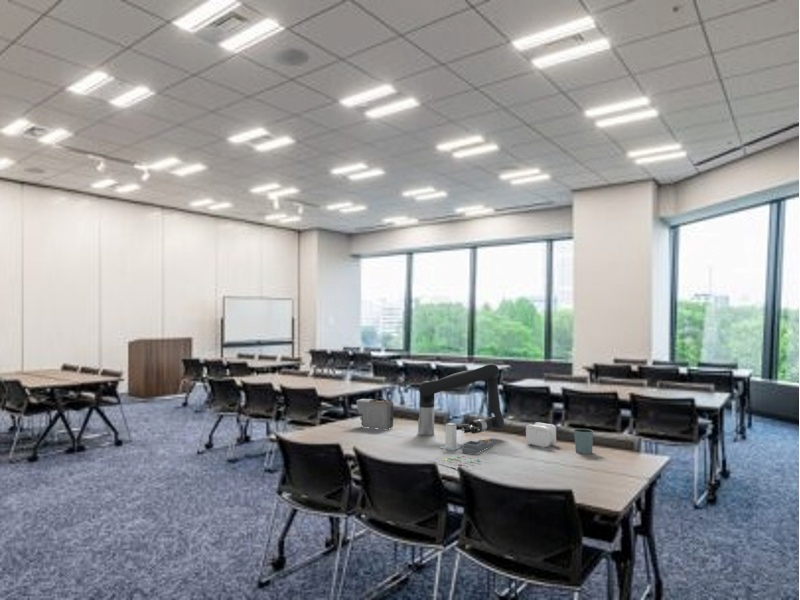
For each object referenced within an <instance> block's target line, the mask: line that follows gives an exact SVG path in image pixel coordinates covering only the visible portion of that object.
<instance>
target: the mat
mask: <svg viewBox="0 0 800 600" xmlns="http://www.w3.org/2000/svg"><path fill="white" fill-rule="evenodd" d="M441 448H442V449H441ZM462 448H463V447H462V445H456V447H454V448H449V447H446V444H445V445H443V446H440V448H439V449H441V450H447V449H448V450H449V451H454V450H455V451H457V450H459V449H462ZM456 449H457V450H456Z"/></svg>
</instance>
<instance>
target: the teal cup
mask: <svg viewBox="0 0 800 600" xmlns="http://www.w3.org/2000/svg"><path fill="white" fill-rule="evenodd" d="M573 436H574V445H575V453H577V452H578V453H577V454H580V453H583V454H582V455H591V454H590V453H592V454H593V445H594V444H593V443H594V441H593V438H594V430H592V429H589V428H575V429H573Z"/></svg>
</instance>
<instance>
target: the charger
mask: <svg viewBox="0 0 800 600" xmlns="http://www.w3.org/2000/svg"><path fill="white" fill-rule="evenodd" d="M456 425H457V423H453V422H447V423H445V445H446V447H449V448H454V447H456V446H457V430H456Z"/></svg>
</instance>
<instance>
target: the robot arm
mask: <svg viewBox="0 0 800 600" xmlns="http://www.w3.org/2000/svg"><path fill="white" fill-rule="evenodd" d="M499 374H500V368H499V367H498V365H497V364H495V363H488V364H485V365H482V366H481V367H478V368H475V369H469V370H463V371H458V372H455V373H453V374H450V375H449V374H448V375H447V376H445V377H442V378H440V379H437V380H431V381H430V380H424V381H422V382H421V384H420V385H419V387H418V391H419V418H417V425H418V426H417V434H418V435H421V436H433V435H434V434H435V394H437V393H440V392H445V391H451V390H455V389H459V388H462V387H463V388H464V387H466V386H469V385H471V384H473V383H476V382H478V381H484V380H486V384H487V404H488V405H487V406H488V412H489V413H491V414H493V415H494V416H490V417H489V416H488V417H486V418H482V419H474V420H471V421H469V422H468V423H465V424H464V423H460V424H456V431H463V432H464V433H465V434H467V433H468V434H469V433H470V434H473V435H475V434H480V433H484V432H486V431H490V430H491V429H492V430H493V429H494V430H495V429H498V430H499V429H502V428H503V427H504V424H505V420H504V419H505V418H504V416H503V414H502V411H501V410H502V409H501V403H500V396H499V395H500V394H499V386H498V379H499Z"/></svg>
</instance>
